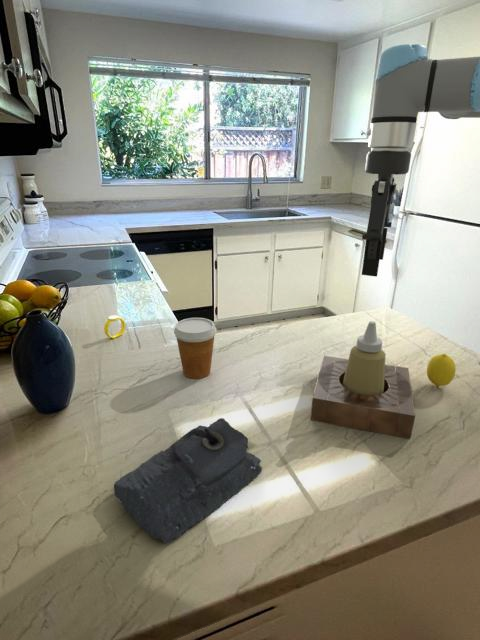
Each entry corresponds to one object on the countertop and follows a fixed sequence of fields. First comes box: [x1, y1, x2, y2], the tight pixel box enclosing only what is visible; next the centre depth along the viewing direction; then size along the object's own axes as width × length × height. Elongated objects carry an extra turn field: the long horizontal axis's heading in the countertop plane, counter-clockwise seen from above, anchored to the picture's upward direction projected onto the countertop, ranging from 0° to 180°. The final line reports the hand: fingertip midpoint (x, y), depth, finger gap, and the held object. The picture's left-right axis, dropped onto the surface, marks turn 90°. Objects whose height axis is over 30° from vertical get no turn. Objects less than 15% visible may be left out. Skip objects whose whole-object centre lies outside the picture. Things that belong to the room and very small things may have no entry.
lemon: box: [426, 353, 457, 387], centre depth 88 cm, size 6×6×8 cm
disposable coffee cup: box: [173, 317, 217, 380], centre depth 92 cm, size 10×10×12 cm
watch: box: [103, 314, 126, 340], centre depth 110 cm, size 6×3×6 cm, turn 144°
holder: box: [310, 355, 416, 440], centre depth 82 cm, size 18×18×5 cm
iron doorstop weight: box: [113, 417, 263, 544], centre depth 62 cm, size 15×22×5 cm
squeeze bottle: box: [343, 320, 386, 395], centre depth 79 cm, size 8×8×18 cm
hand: (372, 266), depth 80 cm, fingers open, 13 cm apart
